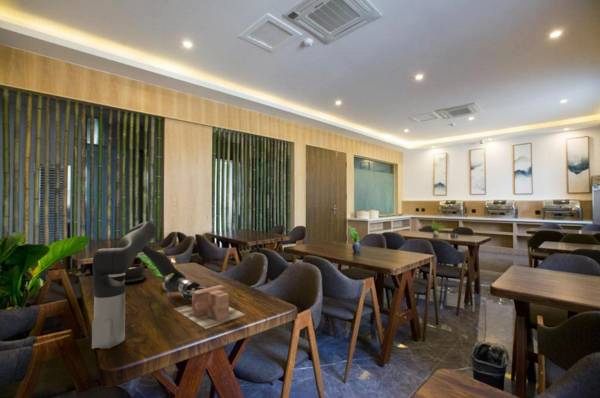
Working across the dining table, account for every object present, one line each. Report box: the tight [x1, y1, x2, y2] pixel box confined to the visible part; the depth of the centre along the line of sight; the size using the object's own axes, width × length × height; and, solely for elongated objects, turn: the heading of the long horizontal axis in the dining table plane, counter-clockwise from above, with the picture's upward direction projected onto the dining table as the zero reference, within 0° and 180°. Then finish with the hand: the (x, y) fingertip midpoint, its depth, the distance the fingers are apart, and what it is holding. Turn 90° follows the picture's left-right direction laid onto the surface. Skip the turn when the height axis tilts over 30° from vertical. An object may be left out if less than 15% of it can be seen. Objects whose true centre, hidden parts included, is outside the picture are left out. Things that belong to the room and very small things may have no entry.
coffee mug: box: [109, 273, 125, 284], centre depth 153 cm, size 12×9×10 cm
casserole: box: [124, 263, 147, 283], centre depth 178 cm, size 25×19×8 cm
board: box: [174, 303, 246, 330], centre depth 126 cm, size 29×19×1 cm, turn 47°
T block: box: [191, 284, 230, 321], centre depth 123 cm, size 14×14×10 cm
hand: (205, 296), depth 128 cm, fingers open, 8 cm apart
